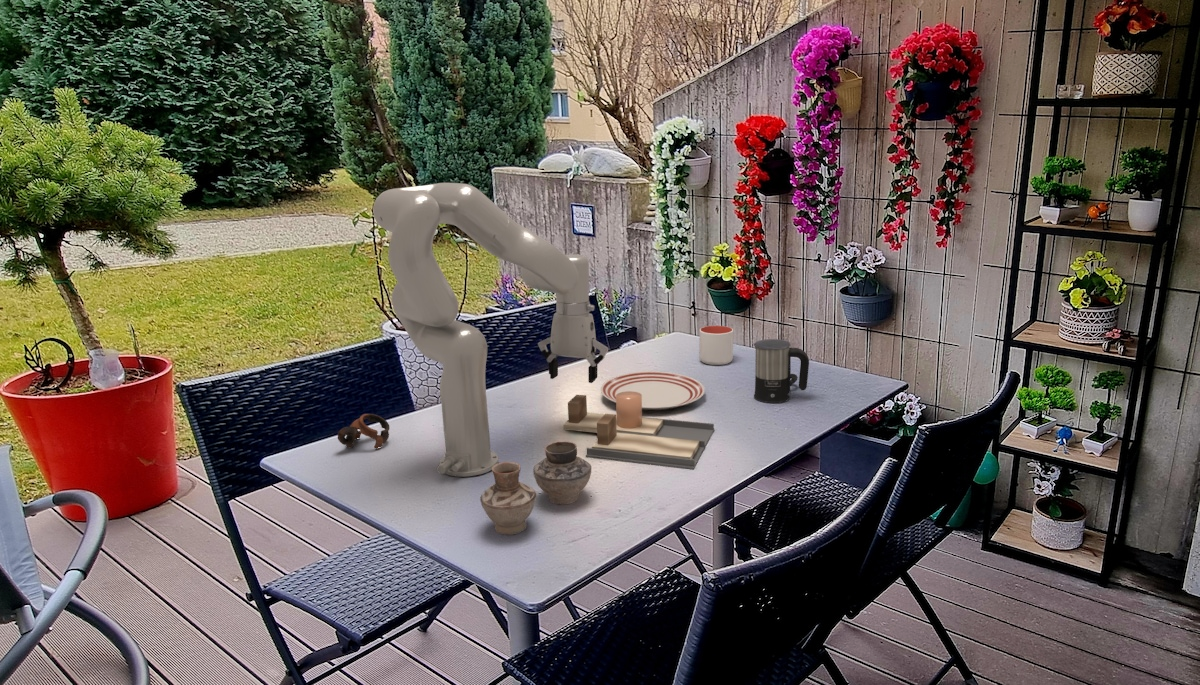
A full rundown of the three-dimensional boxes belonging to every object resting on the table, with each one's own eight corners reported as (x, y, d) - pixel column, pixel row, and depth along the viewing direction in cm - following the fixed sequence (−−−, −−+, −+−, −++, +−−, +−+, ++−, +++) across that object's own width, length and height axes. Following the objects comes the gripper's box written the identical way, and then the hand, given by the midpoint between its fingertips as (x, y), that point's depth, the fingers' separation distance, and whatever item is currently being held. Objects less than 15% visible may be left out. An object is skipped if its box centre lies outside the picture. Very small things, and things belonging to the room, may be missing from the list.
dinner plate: (726, 401, 201) (726, 389, 200) (642, 425, 187) (642, 413, 186) (660, 375, 223) (660, 364, 222) (581, 396, 209) (580, 384, 208)
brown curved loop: (366, 436, 187) (379, 408, 184) (387, 461, 182) (401, 433, 180) (323, 440, 177) (336, 411, 174) (344, 467, 173) (358, 438, 170)
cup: (698, 366, 230) (698, 333, 228) (700, 356, 240) (700, 325, 237) (732, 366, 229) (733, 334, 226) (732, 357, 238) (733, 325, 236)
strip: (690, 462, 163) (690, 435, 162) (592, 451, 170) (591, 425, 169) (699, 446, 171) (699, 419, 170) (605, 436, 178) (604, 411, 177)
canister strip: (653, 438, 176) (652, 413, 175) (563, 429, 183) (562, 404, 182) (663, 424, 184) (662, 399, 183) (577, 415, 192) (576, 392, 190)
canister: (638, 429, 179) (637, 401, 177) (613, 427, 181) (612, 398, 179) (645, 420, 184) (644, 392, 182) (621, 418, 186) (620, 390, 184)
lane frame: (693, 469, 162) (693, 461, 161) (585, 457, 169) (585, 449, 169) (714, 429, 182) (714, 422, 182) (617, 420, 190) (617, 413, 189)
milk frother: (759, 405, 197) (761, 349, 193) (740, 385, 212) (741, 333, 208) (813, 401, 199) (815, 345, 195) (790, 381, 214) (792, 330, 210)
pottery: (469, 529, 141) (464, 469, 137) (561, 480, 159) (558, 426, 156) (513, 549, 134) (509, 486, 130) (604, 494, 152) (602, 438, 149)
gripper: (613, 308, 180) (612, 378, 184) (544, 303, 185) (545, 371, 189) (602, 314, 173) (602, 387, 177) (531, 309, 178) (533, 380, 182)
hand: (572, 379), depth 183 cm, fingers open, 9 cm apart
